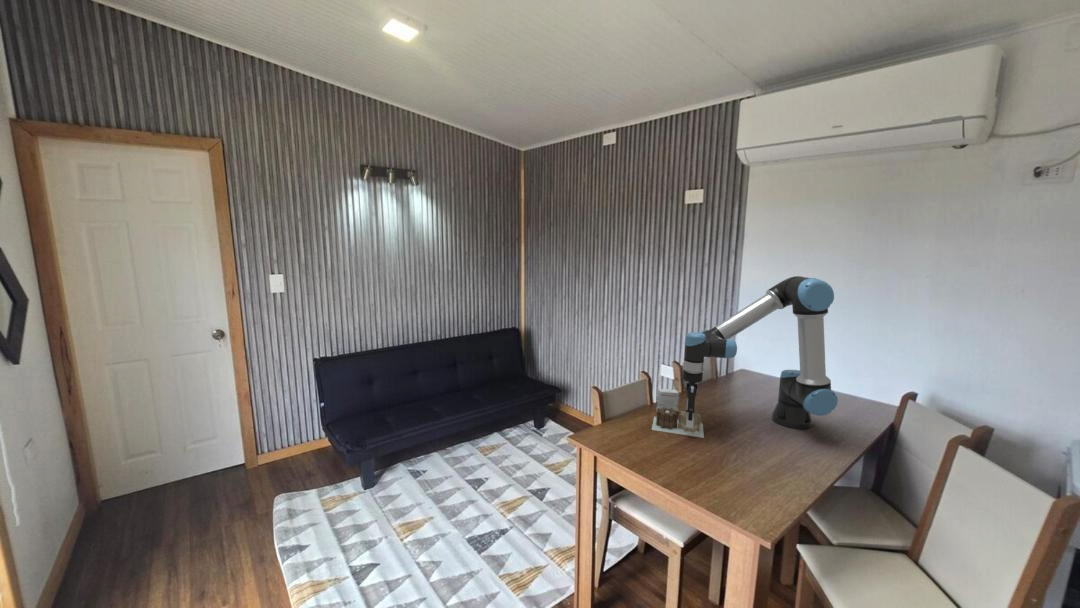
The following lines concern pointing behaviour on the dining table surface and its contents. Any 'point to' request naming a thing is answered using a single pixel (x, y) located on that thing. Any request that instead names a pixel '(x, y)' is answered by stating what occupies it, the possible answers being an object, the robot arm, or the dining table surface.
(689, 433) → the gear board
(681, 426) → the gear
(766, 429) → the dining table surface
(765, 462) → the dining table surface
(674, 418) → the gear
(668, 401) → the ink box
